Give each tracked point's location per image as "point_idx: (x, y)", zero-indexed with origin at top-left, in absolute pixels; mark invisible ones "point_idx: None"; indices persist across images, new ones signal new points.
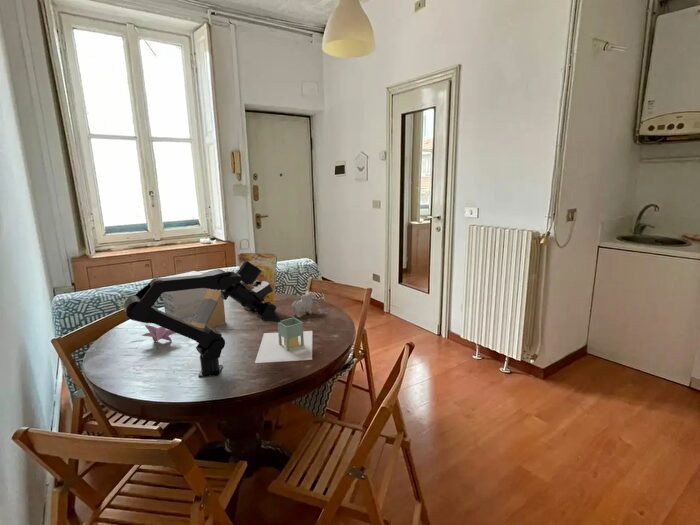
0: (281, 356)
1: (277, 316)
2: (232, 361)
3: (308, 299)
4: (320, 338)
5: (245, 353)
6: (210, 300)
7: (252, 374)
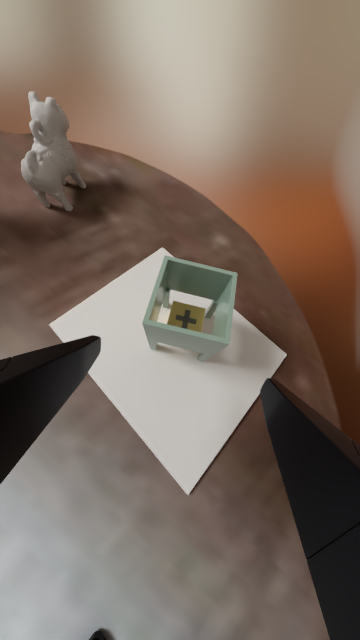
0: (216, 397)
1: (329, 427)
2: (101, 552)
3: (59, 136)
4: (205, 264)
5: (96, 464)
6: None
7: (241, 553)
